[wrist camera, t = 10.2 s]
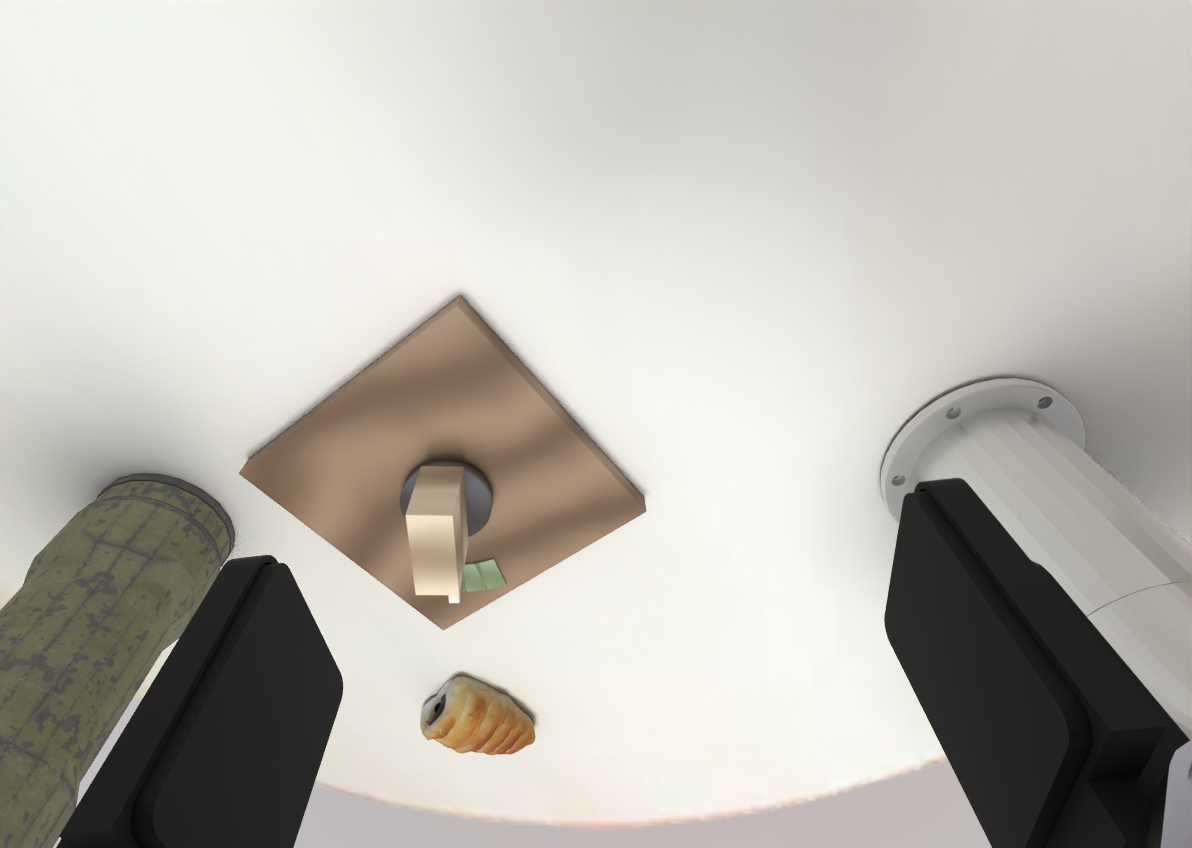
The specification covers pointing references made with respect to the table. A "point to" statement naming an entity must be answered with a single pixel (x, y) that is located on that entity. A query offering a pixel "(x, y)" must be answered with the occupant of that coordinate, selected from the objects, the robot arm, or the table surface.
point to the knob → (443, 522)
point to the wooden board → (447, 432)
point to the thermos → (95, 637)
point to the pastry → (476, 719)
